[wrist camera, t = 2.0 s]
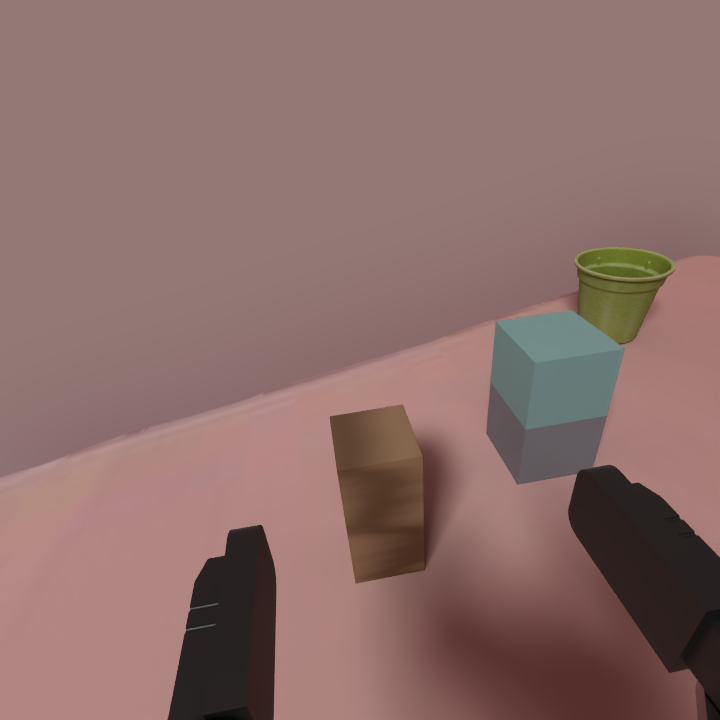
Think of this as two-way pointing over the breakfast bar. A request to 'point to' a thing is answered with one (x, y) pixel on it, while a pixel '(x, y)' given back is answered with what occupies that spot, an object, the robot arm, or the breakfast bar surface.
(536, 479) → the tower base
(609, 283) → the plant pot
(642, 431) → the breakfast bar surface
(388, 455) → the walnut pillar
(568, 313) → the tower top
